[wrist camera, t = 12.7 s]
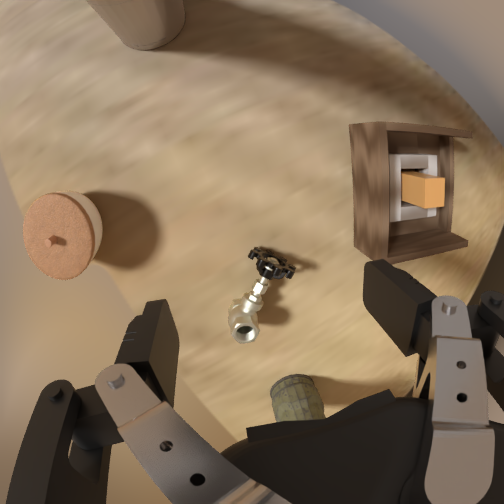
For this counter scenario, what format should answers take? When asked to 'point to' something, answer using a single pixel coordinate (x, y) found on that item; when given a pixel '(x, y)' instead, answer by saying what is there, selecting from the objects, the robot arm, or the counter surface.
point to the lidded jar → (62, 233)
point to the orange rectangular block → (422, 189)
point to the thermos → (296, 399)
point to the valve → (256, 295)
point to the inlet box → (389, 190)
